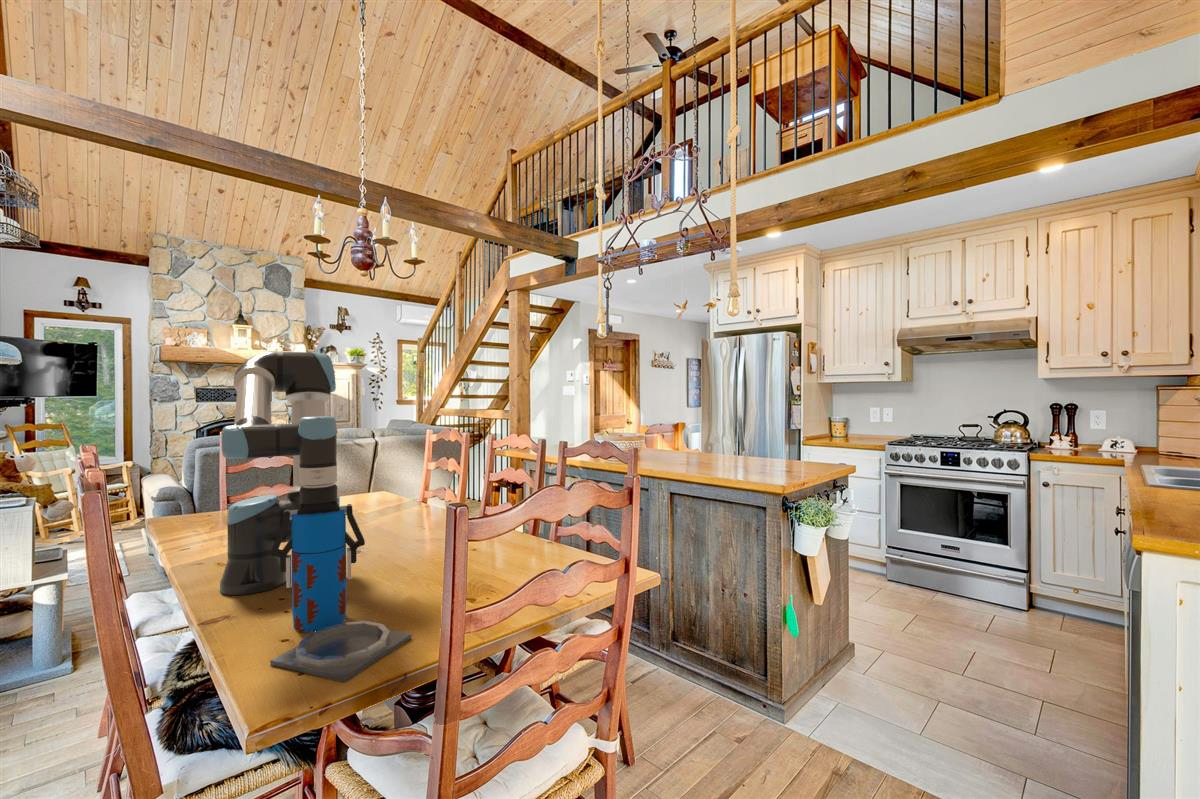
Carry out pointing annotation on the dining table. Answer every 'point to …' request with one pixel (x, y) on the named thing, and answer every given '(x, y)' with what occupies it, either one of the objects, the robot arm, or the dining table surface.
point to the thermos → (318, 570)
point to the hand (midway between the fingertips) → (319, 581)
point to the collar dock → (341, 650)
